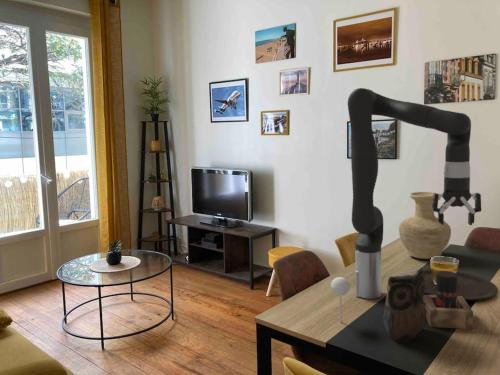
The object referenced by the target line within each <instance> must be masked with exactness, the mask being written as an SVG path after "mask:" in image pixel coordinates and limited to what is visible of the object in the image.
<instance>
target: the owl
mask: <svg viewBox="0 0 500 375" xmlns="http://www.w3.org/2000/svg"><path fill="white" fill-rule="evenodd" d="M425 283H426V280H425V278H424V275H423V267H417V268H414V269H407V270H404V271H401V272H398V273H396V274H393V275H390V276H389V277H388V279H387V286H386V291H387V293H386V298H385V303H384V304H385V305H384V312H383V317H382V319H383V325H384V328H385V331H386V333H387V335H388V338H389V340H391V341H393V342H396V343H409V342H411V340H415V338H416V339H417V338H418V337H419V336H421V337H422V335H423V328H424V324H425V321H426V320H427V318H426V312H427V311H426V308H425V305H426V304H425V303H424V301H423V296H424V295H425V291H426V284H425Z"/></svg>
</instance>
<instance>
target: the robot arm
mask: <svg viewBox="0 0 500 375" xmlns="http://www.w3.org/2000/svg"><path fill="white" fill-rule="evenodd" d="M347 110H348V117H349V124H350V147H351V148H350V150H351V152H350V161H351V162H350V163H351V181H352V184H351V185H352V206H351V224H352V226H353V228H354V230H355V231H356V232H357V233H358V234H357V238H356V240H355V243H354V251H355V253H354V254H355V255H354V257H355V258H354V260H355V261H354V262H355V268H354V270H355V272H354V274H355V275H354V276H355V279H354V280H355V281H354V282H355V297H359V298H363V299H370V300H374V299H379V298H380V297H381V296H382V244H383V240H384V238H383V237H384V215H383V213H382V211H381V210H380V208H378V207H377V206H375V205H374V191H375V187H376V183H377V179H378V174H379V154H378V147H377V143H376V140H375V137H374V133H373V127H372V126H373V125H372V123H373V122H372V121H373V120H372V119H373V116H380V117H381V116H382V117H387V118H392V119H395V120H396V121H400V122H403V123H406V124H409V125H413V126H416V127H421V128H426V129H429V130H430V129H431V130H435V131H438V132H442V133H445V134H447V135H446V136H447V138H446V140H447V144H446V147H445V153H444V154H445V163H444V168H443V170H444V171H443V192H442V193H438V192H434V194H433V204H432V210H433V211H434V213H435V212H436V213H437V218H438V222H439V223H440V224H441V225H443V224H444V221H445V220H444V217H445V216H444V215H445V214H444V212H446V210H448V208H450V207H452V208H454V207H461V208H462V207H465V208H466V210H468V212H467V215H468V216H467V224H468V225H469V226H473V224H474V223H475V214H477V213H480V212H482V194H481V193H480V192H475V193H473V192H472V193H471V192H470V191H471V190H470V189H471V186H470V184H471V164H470V162H471V161H470V158H471V157H470V156H471V154H470V153H471V152H470V150H471V149H470V142H471V141H470V140H471V131H472V120H471V118H470V116H468V114H466V113H462V112H457V111H452V110H445V109H441V108H438V107H435V106H431V105H428V104H427V105H426V104H421V103H416V102H411V101H403V100H397V99H394V98H390V97H386V96H384V95H382V94H379V93H377V92H374V91H373V90H371V89H370V88H364V87H361V88H360V87H359V88H356V89H354V90H352V91H351V93H350V94H349V95H348V99H347ZM437 193H438V194H437ZM441 198H442V199H443V200H444V201H443V203H441V206H439V201H440V200H441ZM471 198H472V199H473V200H474V207H472V205H471V204H470V202H468V201H470V199H471Z"/></svg>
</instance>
